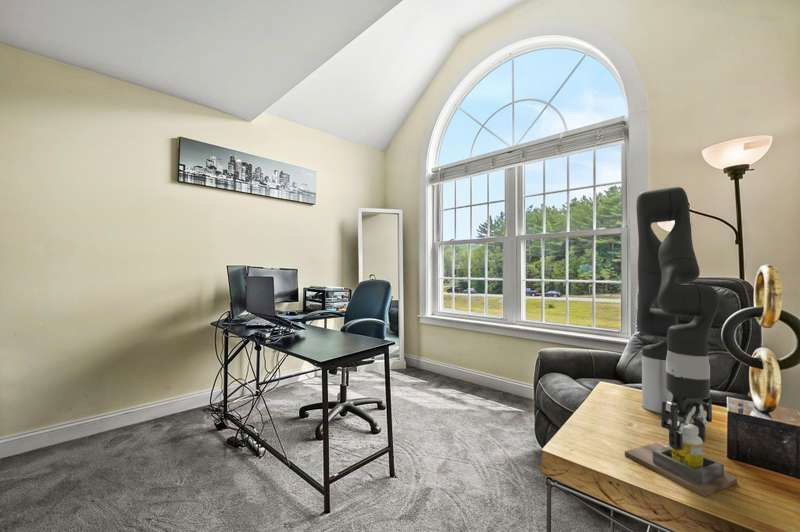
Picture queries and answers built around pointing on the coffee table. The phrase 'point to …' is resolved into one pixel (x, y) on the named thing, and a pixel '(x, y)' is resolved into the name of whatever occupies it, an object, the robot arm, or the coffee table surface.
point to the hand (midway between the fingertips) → (687, 444)
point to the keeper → (683, 469)
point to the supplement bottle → (690, 448)
